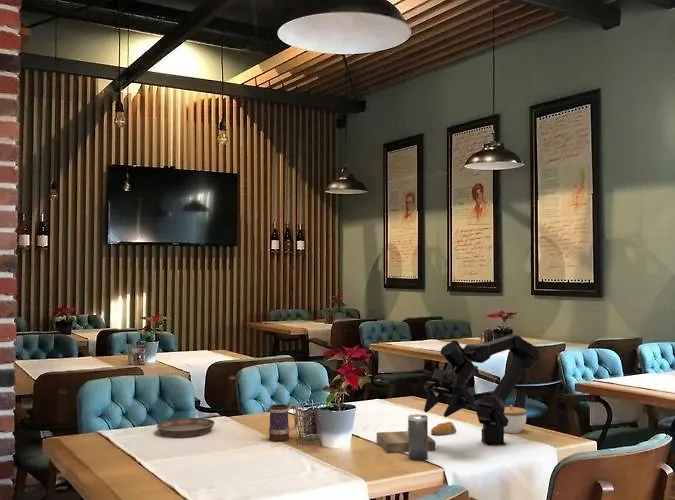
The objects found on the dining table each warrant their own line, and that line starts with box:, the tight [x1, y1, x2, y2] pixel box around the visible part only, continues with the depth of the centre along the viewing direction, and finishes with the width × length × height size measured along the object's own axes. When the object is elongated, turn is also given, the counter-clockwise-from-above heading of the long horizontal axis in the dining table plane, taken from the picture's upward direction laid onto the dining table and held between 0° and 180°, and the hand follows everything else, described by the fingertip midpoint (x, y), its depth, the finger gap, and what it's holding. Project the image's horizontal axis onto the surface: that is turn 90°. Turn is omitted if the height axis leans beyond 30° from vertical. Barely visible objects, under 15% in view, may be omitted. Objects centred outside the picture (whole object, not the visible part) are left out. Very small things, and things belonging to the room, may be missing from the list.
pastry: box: [430, 421, 457, 437], centre depth 264 cm, size 9×7×4 cm
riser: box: [376, 430, 436, 454], centre depth 246 cm, size 16×16×3 cm
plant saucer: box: [156, 417, 216, 438], centre depth 269 cm, size 21×21×3 cm
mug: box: [268, 403, 299, 443], centre depth 256 cm, size 10×7×12 cm
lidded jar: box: [503, 404, 528, 434], centre depth 267 cm, size 11×11×9 cm
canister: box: [407, 413, 429, 462], centre depth 230 cm, size 6×6×13 cm
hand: (434, 414), depth 234 cm, fingers open, 9 cm apart
